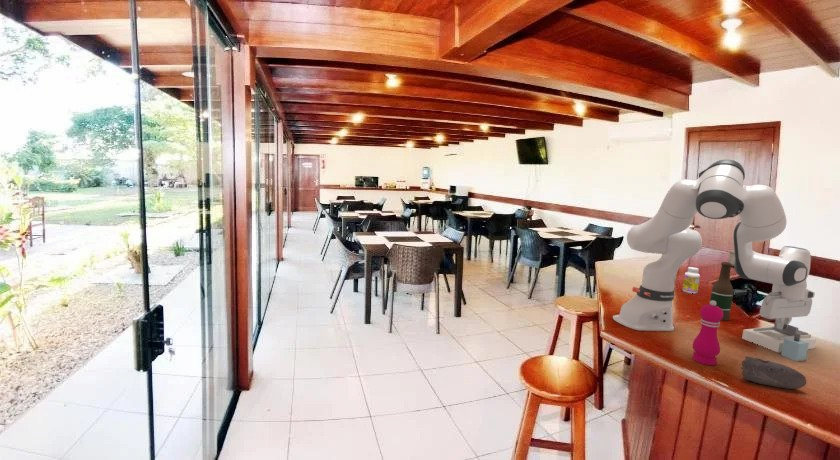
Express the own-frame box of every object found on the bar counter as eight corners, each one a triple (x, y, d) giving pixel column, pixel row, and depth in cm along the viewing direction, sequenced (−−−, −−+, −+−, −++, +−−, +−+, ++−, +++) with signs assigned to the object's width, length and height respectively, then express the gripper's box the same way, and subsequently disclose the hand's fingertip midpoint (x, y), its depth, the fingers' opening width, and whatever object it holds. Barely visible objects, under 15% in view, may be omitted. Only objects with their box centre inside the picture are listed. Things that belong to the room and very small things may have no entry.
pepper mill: (706, 356, 135) (716, 297, 132) (723, 366, 127) (733, 304, 125) (685, 355, 134) (694, 296, 131) (701, 365, 127) (710, 303, 124)
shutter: (794, 336, 145) (796, 328, 145) (773, 329, 152) (775, 321, 151) (807, 335, 147) (809, 326, 147) (786, 328, 154) (788, 320, 153)
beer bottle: (733, 321, 170) (742, 265, 166) (712, 319, 171) (721, 263, 168) (723, 315, 177) (732, 261, 174) (703, 313, 179) (711, 259, 175)
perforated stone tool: (801, 388, 116) (805, 365, 115) (808, 397, 111) (812, 372, 110) (735, 374, 123) (739, 352, 122) (739, 381, 118) (743, 359, 117)
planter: (749, 270, 276) (752, 255, 274) (726, 267, 284) (729, 252, 283) (751, 267, 285) (754, 253, 283) (729, 264, 293) (731, 250, 292)
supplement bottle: (679, 290, 216) (682, 266, 214) (688, 289, 218) (692, 266, 216) (690, 294, 209) (694, 269, 207) (700, 293, 211) (704, 269, 209)
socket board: (777, 352, 140) (780, 340, 139) (742, 338, 151) (743, 326, 151) (814, 348, 145) (816, 336, 144) (776, 335, 156) (778, 324, 156)
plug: (796, 361, 134) (800, 336, 133) (781, 355, 138) (785, 331, 137) (805, 360, 135) (810, 335, 134) (790, 354, 139) (794, 330, 138)
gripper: (777, 295, 140) (770, 333, 142) (818, 293, 146) (811, 330, 148) (757, 290, 146) (751, 327, 148) (797, 288, 152) (791, 323, 154)
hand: (781, 328), depth 148 cm, fingers closed
